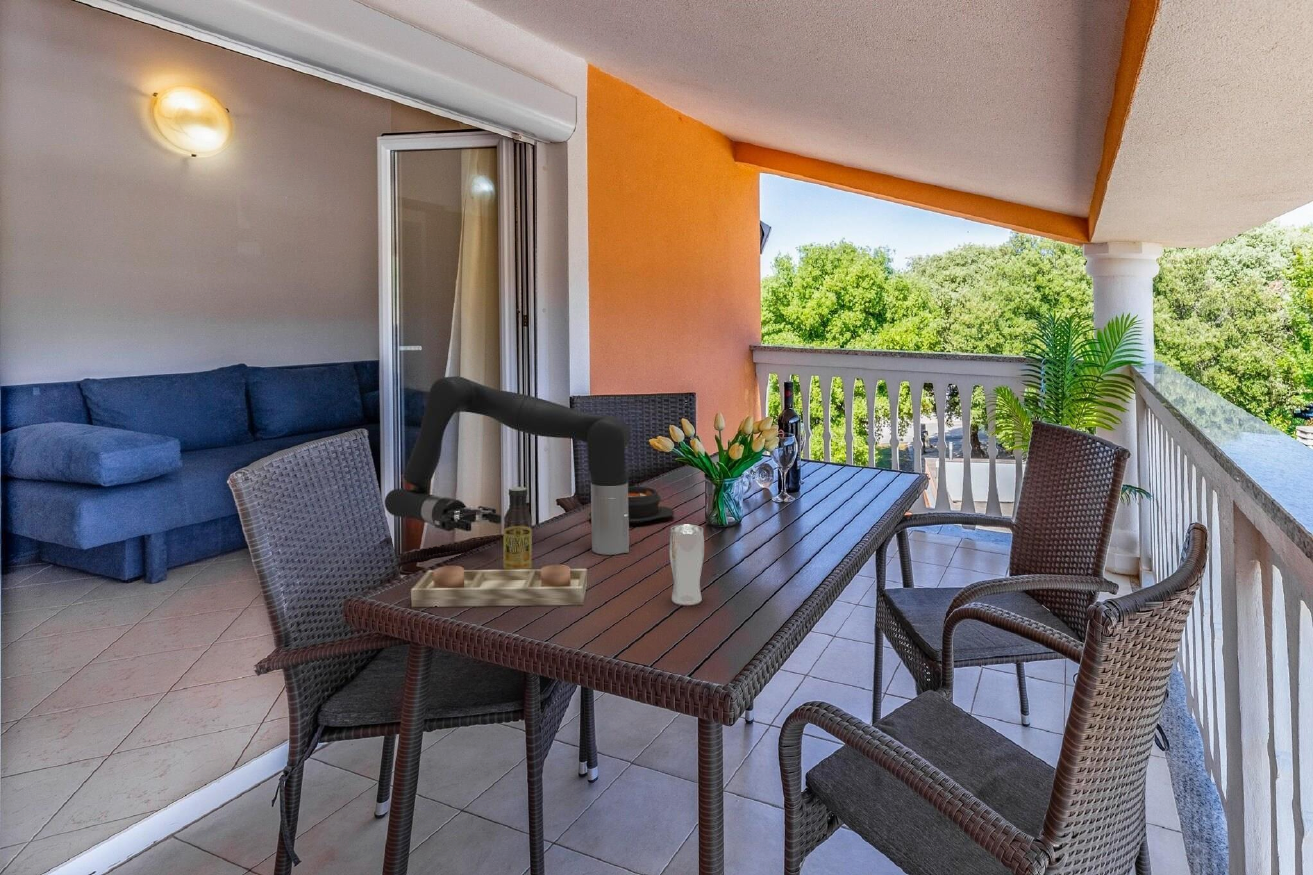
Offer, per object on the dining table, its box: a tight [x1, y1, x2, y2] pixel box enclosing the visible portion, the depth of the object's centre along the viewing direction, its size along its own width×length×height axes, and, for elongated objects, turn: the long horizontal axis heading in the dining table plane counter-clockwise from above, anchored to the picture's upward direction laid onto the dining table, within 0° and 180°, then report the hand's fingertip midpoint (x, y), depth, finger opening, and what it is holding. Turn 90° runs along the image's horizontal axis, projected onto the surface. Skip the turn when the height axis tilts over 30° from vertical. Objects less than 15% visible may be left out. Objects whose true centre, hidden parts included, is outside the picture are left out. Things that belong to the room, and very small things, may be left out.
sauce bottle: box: [502, 486, 533, 570], centre depth 162 cm, size 6×6×20 cm
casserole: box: [588, 486, 675, 525], centre depth 211 cm, size 25×19×8 cm
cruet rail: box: [410, 564, 588, 608], centre depth 151 cm, size 34×12×6 cm, turn 91°
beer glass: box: [669, 524, 705, 606], centre depth 147 cm, size 7×7×15 cm
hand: (485, 523), depth 169 cm, fingers open, 8 cm apart
